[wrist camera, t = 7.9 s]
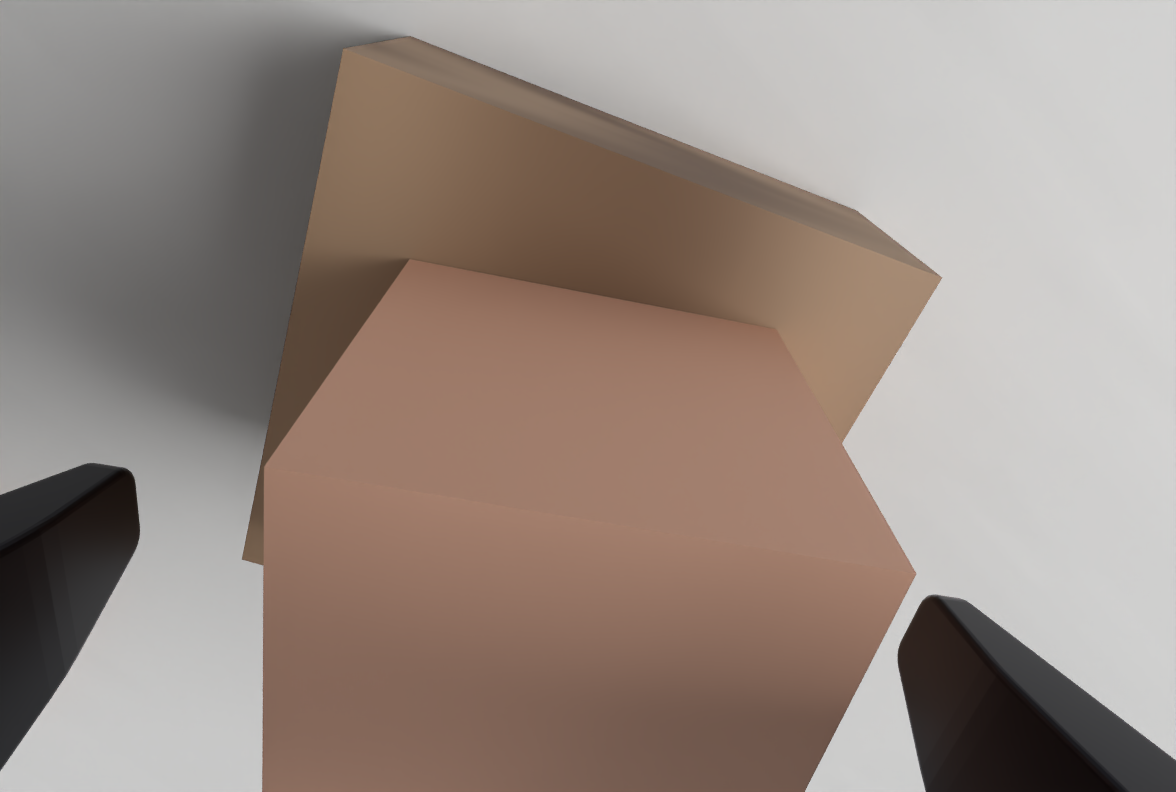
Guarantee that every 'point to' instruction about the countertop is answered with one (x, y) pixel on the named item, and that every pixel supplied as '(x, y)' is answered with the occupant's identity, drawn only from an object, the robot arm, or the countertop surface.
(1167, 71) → the countertop surface
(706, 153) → the walnut base block
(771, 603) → the terracotta cube
